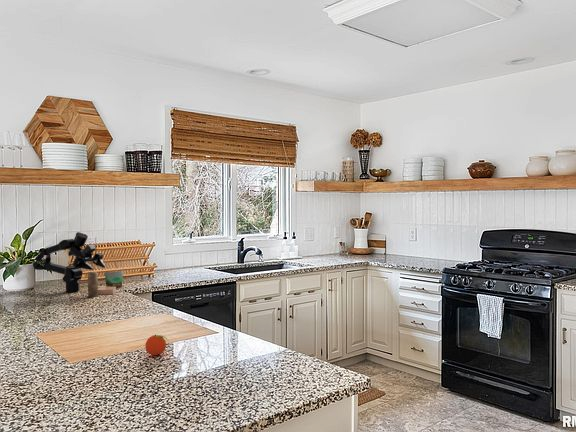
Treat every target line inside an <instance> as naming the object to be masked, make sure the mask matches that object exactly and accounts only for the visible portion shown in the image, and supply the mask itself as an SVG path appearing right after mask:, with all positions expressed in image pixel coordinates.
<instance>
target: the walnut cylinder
mask: <svg viewBox="0 0 576 432" xmlns="http://www.w3.org/2000/svg"><path fill="white" fill-rule="evenodd" d="M98 279H99V278H98V272H97V271H90V272H87V297H88V298H97V297H99V294H98V288H99V285H98V283H99V281H98Z"/></svg>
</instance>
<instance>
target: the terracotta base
mask: <svg viewBox="0 0 576 432" xmlns="http://www.w3.org/2000/svg"><path fill="white" fill-rule="evenodd" d="M116 291H117V288H116V287H106V286H98V295H113V294H115V292H116Z"/></svg>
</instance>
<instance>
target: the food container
mask: <svg viewBox="0 0 576 432" xmlns="http://www.w3.org/2000/svg"><path fill="white" fill-rule="evenodd" d="M124 274H125V273H124V270H123V269H120V271H119V270H118V271H116V270H115V271H104V274H103V276H104V278H105V279H104V280H105V287H116V289H121V288H122V287H123V276H124Z"/></svg>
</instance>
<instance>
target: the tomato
mask: <svg viewBox="0 0 576 432" xmlns="http://www.w3.org/2000/svg"><path fill="white" fill-rule="evenodd" d="M166 340H167V341H168V343H169V340H168V338H167V337H166V336H164V335H159V334H154V335H150V337H148V338H147V339H146V342H145V344H144V346H145V351H146V352H147V353H148V354H149V355H150V354H151V356H153V355H158V354H160V355H162V354H163V353H164V352H165V351H166V348H167V341H166ZM161 353H162V354H161ZM158 356H159V355H158Z"/></svg>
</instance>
